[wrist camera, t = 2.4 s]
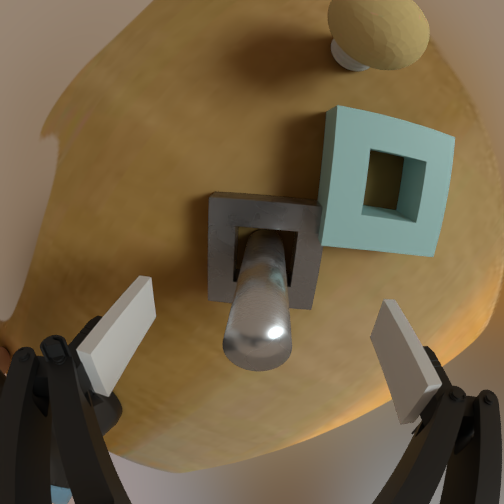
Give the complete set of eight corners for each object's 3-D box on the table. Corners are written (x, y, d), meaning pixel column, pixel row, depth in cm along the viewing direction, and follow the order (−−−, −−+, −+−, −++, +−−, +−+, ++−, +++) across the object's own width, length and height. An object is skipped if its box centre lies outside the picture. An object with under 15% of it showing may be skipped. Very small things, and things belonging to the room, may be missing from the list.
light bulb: (398, 62, 17) (462, 31, 8) (353, 101, 19) (408, 78, 10) (346, 12, 16) (382, -46, 6) (297, 48, 18) (313, -9, 8)
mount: (213, 286, 26) (208, 300, 24) (215, 191, 23) (209, 197, 20) (308, 295, 26) (311, 309, 23) (323, 200, 22) (329, 207, 20)
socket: (313, 228, 23) (321, 245, 20) (326, 111, 20) (337, 105, 16) (413, 240, 23) (433, 257, 19) (430, 136, 19) (455, 137, 15)
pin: (245, 261, 25) (222, 367, 13) (248, 227, 24) (222, 317, 12) (281, 264, 25) (286, 373, 13) (285, 230, 24) (296, 323, 12)
